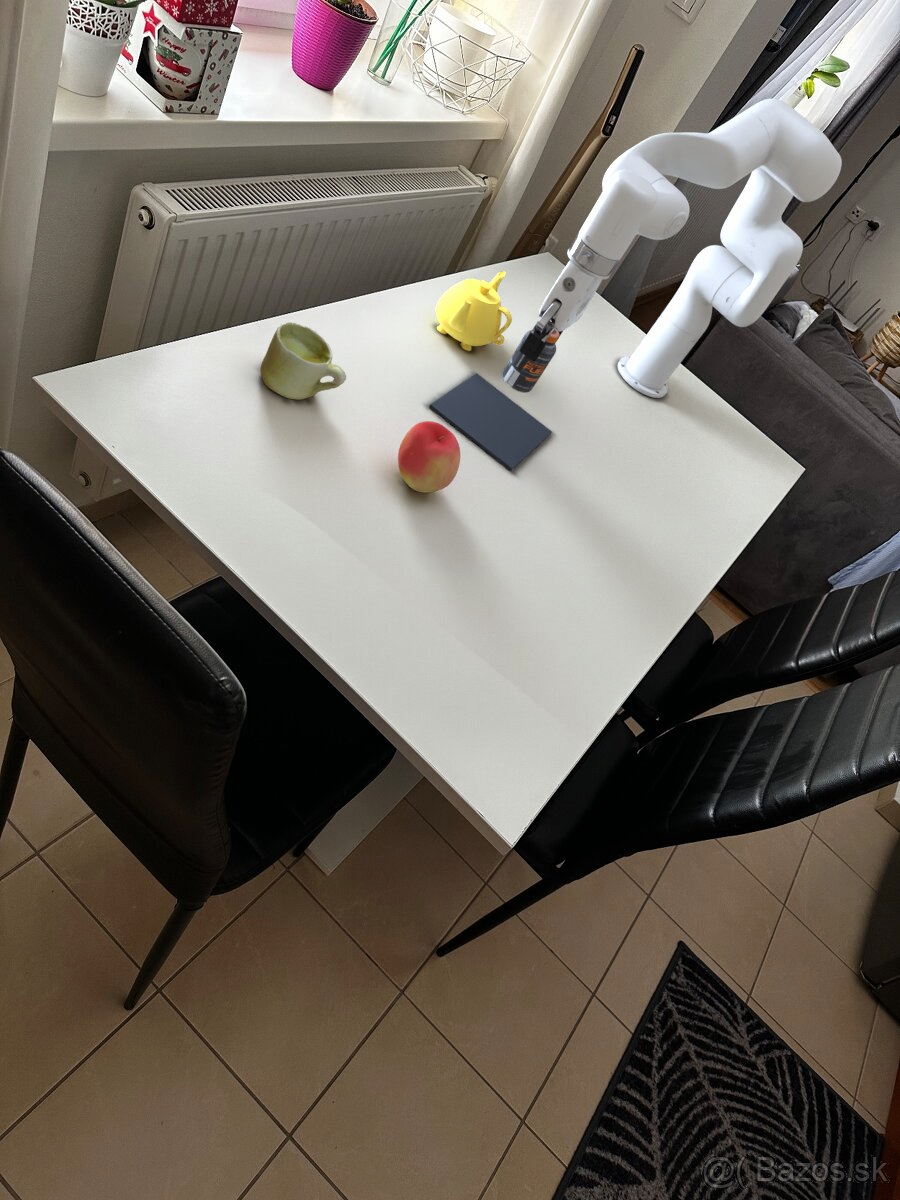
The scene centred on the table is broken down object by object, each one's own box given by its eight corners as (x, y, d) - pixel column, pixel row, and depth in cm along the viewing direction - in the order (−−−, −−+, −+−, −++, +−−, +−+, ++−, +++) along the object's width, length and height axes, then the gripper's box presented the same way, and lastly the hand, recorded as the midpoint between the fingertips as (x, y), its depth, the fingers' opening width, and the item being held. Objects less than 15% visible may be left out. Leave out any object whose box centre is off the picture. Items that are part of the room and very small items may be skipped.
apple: (376, 481, 129) (402, 432, 122) (399, 451, 136) (425, 403, 129) (430, 515, 129) (459, 468, 123) (451, 484, 136) (479, 438, 130)
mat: (475, 375, 160) (476, 372, 160) (550, 433, 159) (552, 431, 159) (428, 406, 147) (430, 404, 147) (510, 471, 146) (512, 468, 146)
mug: (236, 363, 128) (277, 314, 124) (269, 360, 138) (307, 314, 134) (292, 424, 129) (334, 378, 125) (320, 417, 138) (360, 373, 134)
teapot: (476, 376, 160) (504, 326, 152) (411, 331, 160) (436, 278, 152) (511, 341, 175) (539, 294, 167) (452, 299, 175) (477, 250, 167)
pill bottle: (510, 393, 144) (543, 338, 136) (495, 369, 147) (527, 314, 139) (537, 394, 148) (571, 342, 140) (521, 371, 150) (554, 318, 143)
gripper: (593, 283, 124) (532, 380, 136) (630, 259, 137) (571, 349, 149) (552, 252, 124) (495, 351, 137) (593, 231, 137) (537, 323, 149)
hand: (535, 349), depth 142 cm, fingers closed on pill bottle, 5 cm apart
